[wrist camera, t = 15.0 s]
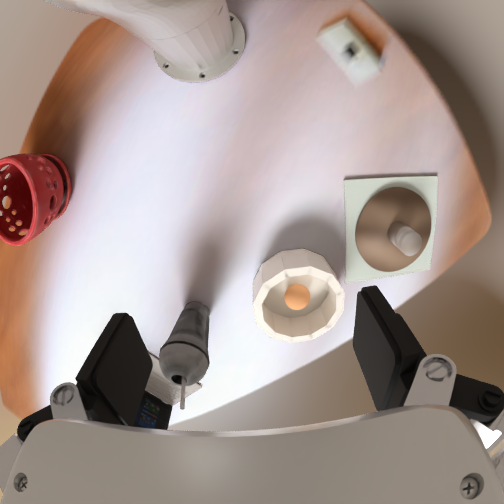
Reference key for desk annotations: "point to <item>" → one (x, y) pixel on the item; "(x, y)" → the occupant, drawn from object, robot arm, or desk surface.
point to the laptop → (154, 409)
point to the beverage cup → (187, 348)
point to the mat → (355, 200)
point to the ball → (297, 297)
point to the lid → (393, 229)
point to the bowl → (277, 282)
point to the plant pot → (32, 194)
